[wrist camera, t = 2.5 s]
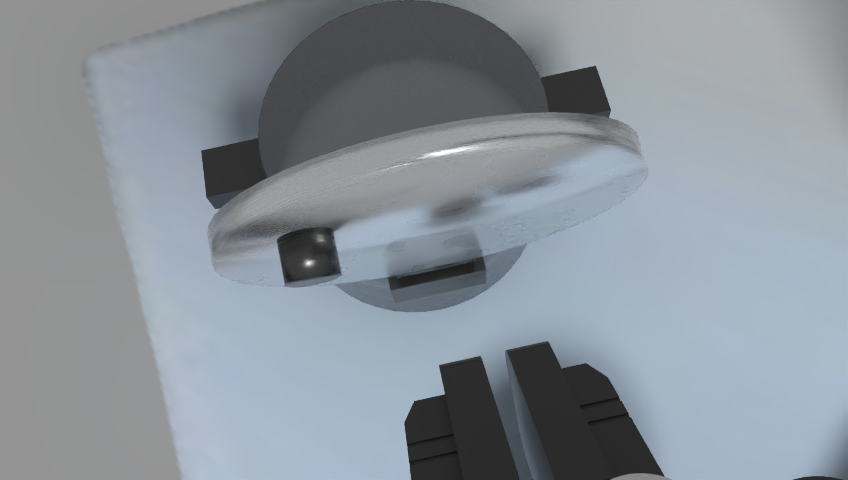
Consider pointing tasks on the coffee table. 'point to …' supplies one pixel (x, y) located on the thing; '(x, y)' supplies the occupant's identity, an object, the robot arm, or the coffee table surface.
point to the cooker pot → (397, 114)
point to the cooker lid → (426, 199)
